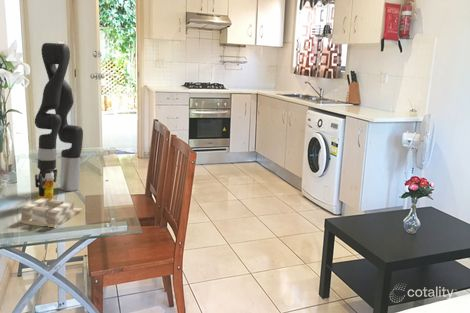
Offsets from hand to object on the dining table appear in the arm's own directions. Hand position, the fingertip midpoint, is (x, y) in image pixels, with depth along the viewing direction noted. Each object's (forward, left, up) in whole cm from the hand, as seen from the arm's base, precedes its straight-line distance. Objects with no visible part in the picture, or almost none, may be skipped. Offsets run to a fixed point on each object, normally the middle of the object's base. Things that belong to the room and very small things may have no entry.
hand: (45, 194), depth 183 cm
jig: (+14, +12, -5) cm, 19 cm away
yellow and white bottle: (0, 0, -5) cm, 5 cm away
